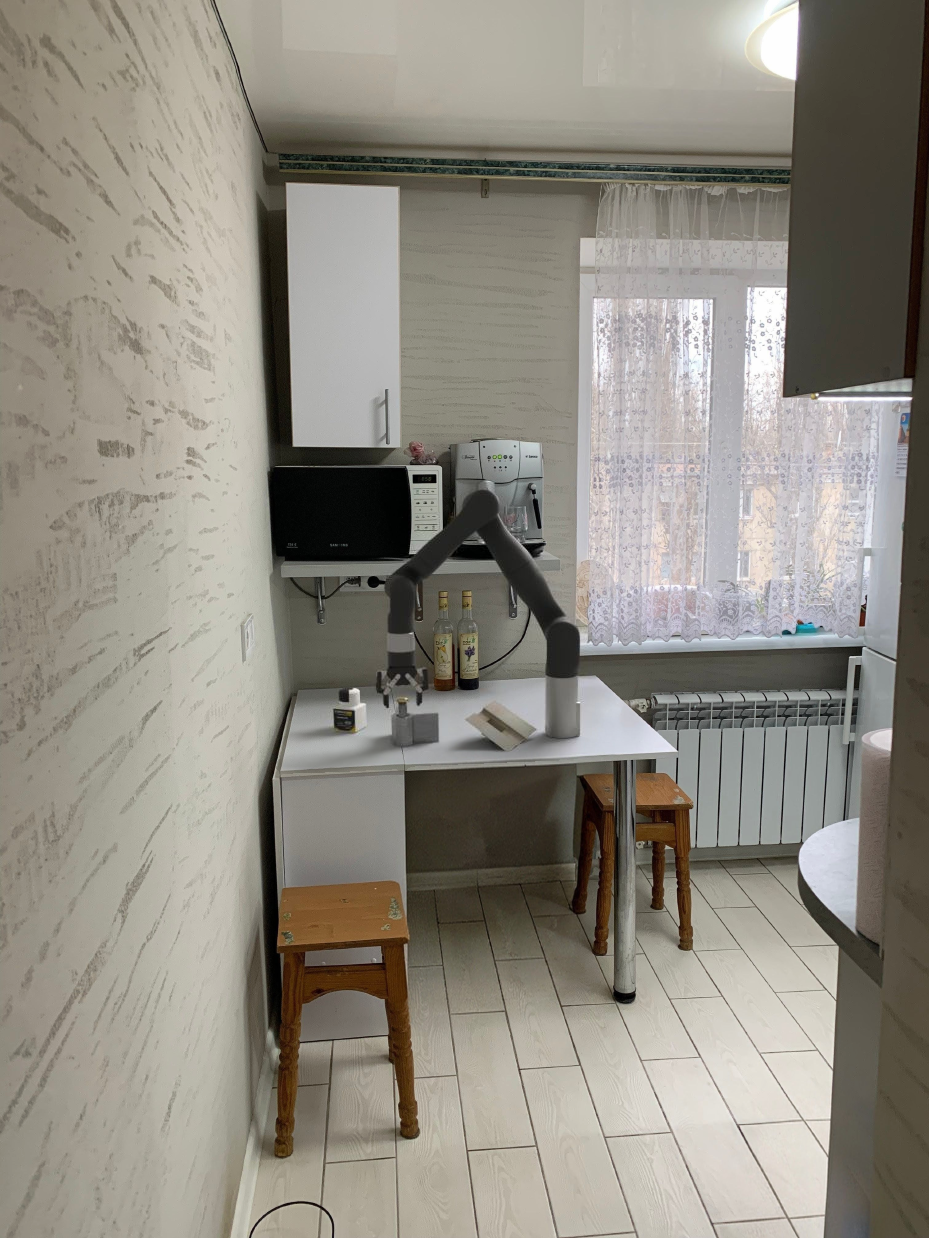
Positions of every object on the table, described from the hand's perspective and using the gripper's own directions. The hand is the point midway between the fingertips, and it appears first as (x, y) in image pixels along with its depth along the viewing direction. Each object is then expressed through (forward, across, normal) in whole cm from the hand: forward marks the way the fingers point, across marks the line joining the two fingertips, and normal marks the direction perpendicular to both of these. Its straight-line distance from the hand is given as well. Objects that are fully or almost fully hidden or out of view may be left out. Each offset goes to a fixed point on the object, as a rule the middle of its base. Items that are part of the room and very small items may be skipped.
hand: (402, 706), depth 251 cm
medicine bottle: (+11, +13, -18) cm, 25 cm away
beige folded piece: (+11, -27, +4) cm, 29 cm away
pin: (+11, 0, 0) cm, 11 cm away
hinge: (+11, -3, -4) cm, 12 cm away
